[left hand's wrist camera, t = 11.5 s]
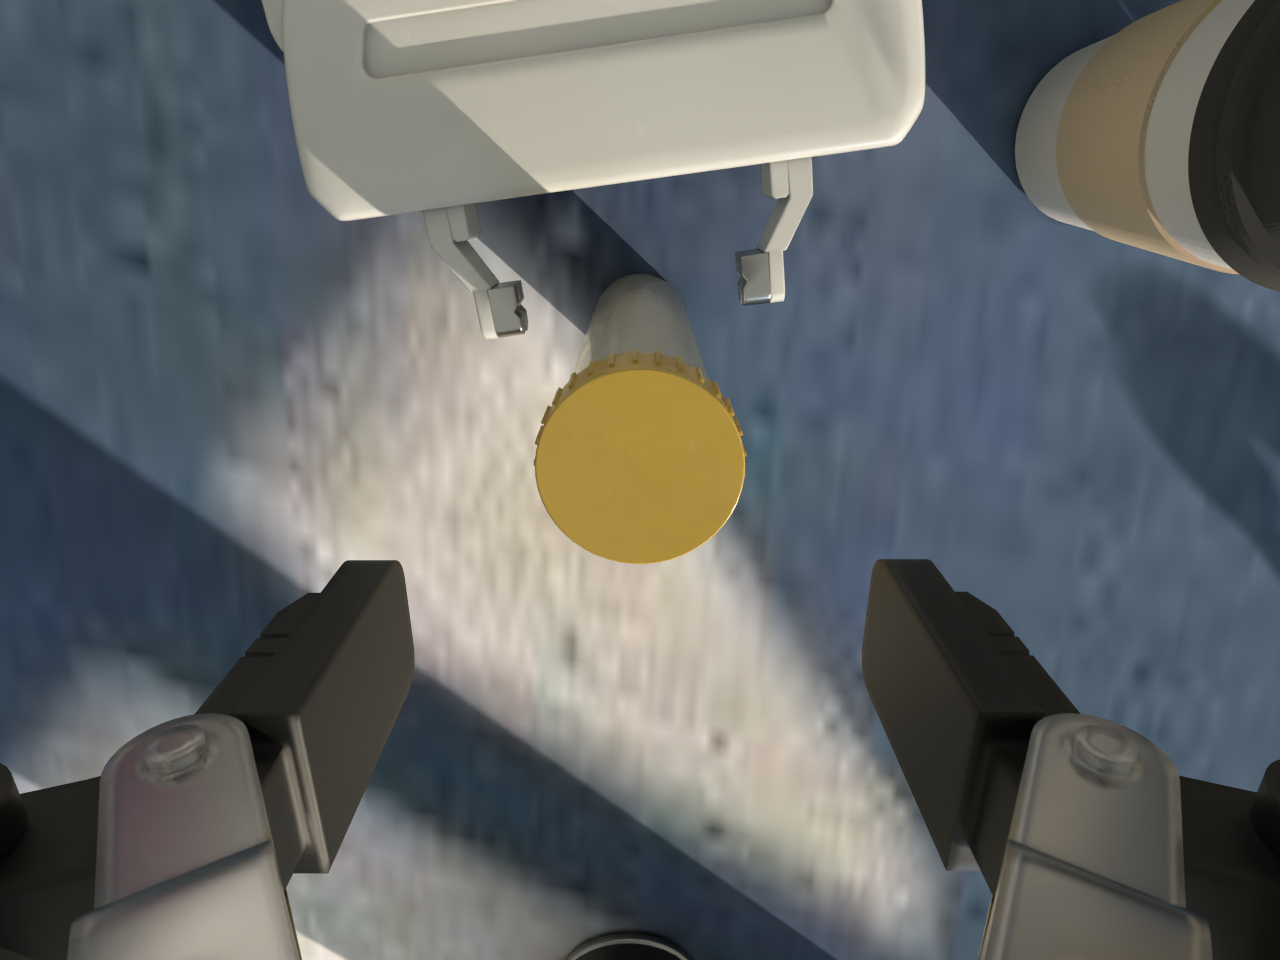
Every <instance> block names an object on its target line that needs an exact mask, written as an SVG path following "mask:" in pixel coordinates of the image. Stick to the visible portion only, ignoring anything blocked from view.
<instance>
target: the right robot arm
mask: <svg viewBox="0 0 1280 960" xmlns="http://www.w3.org/2000/svg"><path fill="white" fill-rule="evenodd" d="M262 4H263V7H264V11H265V15H266V19H267V22H268V26H269V29H270V31H271V33H272V36H273V38H274V40H275V42H276V44H277V46H278V47H279V49H280V50H281V52H282V53H283V54H284V62H285V71H286V79H287V88H288V95H289V102H290V109H291V115H292V121H293V127H294V132H295V138H296V143H297V148H298V153H299V157H300V162H301V167H302V171H303V175H304V179H305V183H306V186H307V189H308V191H309V193H310V194H311V196H312V197H313V198H314V199H315V200H316V201H317V202H318V203H319V204H320V205H321V206H322V207H324V208H325V209H326V210H327V211H328V212H329V213H330V214H331V215H333V216H334V217H335V218H336V219H338V220H340V221H349V220H358V219H365V218H373V217H380V216H387V215H395V214H402V213H409V212H417V211H423V213H424V218H425V222H426V227H427V231H428V236H429V240H430V245H431V247H432V248H433V249H434V250H435V252H436V253H437V254H438V255H439V256H440V258H441V259H442V260H443V261H444V262H445V263H446V265H447V266H448V267H449V268H450V269H451V270H452V272H453V273H454V274H455V275H456V276H457V277H458V279H459V280H460V281H461V282H462V283H463V285H464V286H465V287H466V288H467V289H468V290H469V292H472V291H473V293H474V298H475V303H476V307H477V312H478V317H479V322H480V327H481V331H482V334H483V336H484V338H485V339H494V338H498V337H499V338H500V337H507V336H514V335H521V334H525V331H527V329H528V317H527V312H526V309H525V308H524V307H523V306H522V305H521V303H522V301H523V299H524V295H523V290H522V285H521V280H520V281H511V282H502V283H498V282H499V281H498V279H497V278H496V277H495V275H494V274H493V273H492V272H491V270H490V269H489V268H488V266H487V265H486V264H485V263H484V261H483V260H482V259H481V257H480V256H479V255H478V254H477V252H476V251H475V250H474V248H473V247H472V246H471V245H470V243H469V242H468V241H467V240H469V239H472V238H474V237H477V236H479V234H480V233H481V231H480V225H479V220H478V214H477V209H476V204H475V203H479V202H487V201H494V200H501V199H508V198H516V197H523V196H530V195H537V194H545V193H552V192H559V191H567V190H574V189H581V188H588V187H596V186H603V185H610V184H617V183H625V182H632V181H639V180H646V179H654V178H661V177H668V176H675V175H683V174H690V173H697V172H704V171H712V170H719V169H726V168H733V167H741V166H748V165H755V164H760V168H761V180H762V193H763V195H764V196H765V197H769V198H775V199H777V198H778V200H777V202H776V204H775V207H774V209H773V211H772V213H771V216H770V218H769V220H768V223H767V225H766V227H765V229H764V232H763V234H762V236H761V238H760V241H759V243H758V245H757V249H751V250H744V251H738V252H735V257H736V270H737V271H738V272H739V274H740V275H741V277H740V279H739V280H738V282H737V283H738V293H739V299H740V302H741V303H742V304H743V305H744V306H745V305H754V304H763V303H770V302H778V301H784V296H785V283H784V265H783V250H786V249H787V247H788V245H789V243H790V241H791V239H792V237H793V235H794V233H795V231H796V229H797V227H798V225H799V223H800V220H801V218H802V216H803V214H804V212H805V210H806V208H807V206H808V204H809V202H810V200H811V198H812V196H813V181H812V157H816V156H823V155H830V154H837V153H845V152H852V151H859V150H866V149H874V148H881V147H887V146H893V145H896V144H898V143H900V142H901V141H902V140H903V138H904V137H905V136H906V134H907V133H908V131H909V130H910V129H911V127H912V126H913V124H914V122H915V121H916V119H917V118H918V116H919V114H920V113H921V110H922V108H923V104H924V98H925V41H924V23H923V9H922V0H262Z"/></svg>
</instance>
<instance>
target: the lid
mask: <svg viewBox="0 0 1280 960" xmlns="http://www.w3.org/2000/svg"><path fill="white" fill-rule="evenodd" d="M733 415H735V413H734V411H733V408H732V406H731V403H730V401H729V399H728V398H726V399H724V397H723V396H722V394H721V392H720V390H719V387H718V384H717V382H716V381H715V380H714V381H713V382H711V381H710V380H709V379H708V378H707V377H706V376H704V375H703V373H702V370H701V368H699V367H698V366H697V368H696V369H695V368H693V367H691V366H690V365H688V364H686V363H684V362H682V358H681V357H679V356H677V358H676V359H675V358H672V357H668V356H665V355H661V354H660V351H657V350H656V351H655V354H654V353H638V351H637V349H633V353H626V354H619V355H615V352H614V353H610V357H608V358H605V359H603V360H600V361H598V362H596V363H595V362H594V360H592V361H590V362H589V366H588V367H587V368H585V369H583V370H582V371H581V372H580V373H578V374H576V373H575V372H574V373H573V374H572V375H571V378H570V380H569V382H568V383H567V384H566V385H565V386H564V388H563V389H561V388H558V390H557V392H556V394H555V397H554V400H553V402H552V406H551V407H550V406H548V407H547V409H546V412H545V414H544V417H543V419H542V422H541V423H542V424H544V426H541V428H540V430H539V433H538V435H537V438H536V441H535V444H537V449H536V457H535V460H534V466H535V475H536V482H537V487H538V491H539V494H540V497H541V500H542V502H543V504H544V506H545V508H546V510H547V512H548V514H549V515H550V517H551V518H552V520H553V521H554V523H555V524H556V525H557V526H558V527H559V528H560V530H561V531H562V532H563V533H564V534H565V535H566V536H568V537H569V538H570V539H571V540H572V541H573V542H575V543H576V544H578V545H579V546H581V547H582V548H584V549H585V550H587V551H589V552H591V553H593V554H595V555H598V556H601V557H603V558H606V559H609V560H613V561H618V562H623V563H632V564H648V563H657V562H662V561H667V560H671V559H674V558H677V557H679V556H682V555H685V554H687V553H689V552H691V551H693V550H695V549H696V548H698V547H699V546H701V545H702V544H704V543H705V542H707V541H708V540H709V539H710V538H711V537H712V536H714V535H715V534H716V533H717V532H718V531H719V530H720V528H721V527H722V526H723V525H724V524H725V523H726V521H727V520H728V518H729V517H730V515H731V514H732V512H733V510H734V508H735V506H736V504H737V502H738V499H739V497H740V494H741V491H742V486H743V481H744V477H745V458H744V457H746V451H745V448H744V446H743V443H742V441H741V437H740V436H741V435H743V433H742V430H741V427H740V425H739V422H738V420H737V417H734V418H733Z"/></svg>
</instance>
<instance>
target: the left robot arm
mask: <svg viewBox="0 0 1280 960" xmlns="http://www.w3.org/2000/svg"><path fill="white" fill-rule="evenodd" d="M245 653H246V655H245V657H241V658H240V660H239V661H238V662H237V663H236V664H235V666H234V667H233V668H232V669H231V671H230V672H229V673H228V674H227V675H226V677H225V678H224V679H223V680H222V682H221V683H220V684H219V685H218V686H217V688H216V689H215V690H214V691H213V692H212V694H211V695H210V696H209V697H208V699H207V700H206V701H205V702H204V703H203V705H202V706H201V707H200V708H199V709H198V711H197V712H196V713H195V714H194V715H190V716H185V717H181V718H177V719H174V720H171V721H168V722H165V723H162V724H160V725H158V726H155V727H153V728H151V729H149V730H147V731H145V732H143V733H141V734H140V735H138V736H136V737H135V738H133V739H132V740H130V741H129V742H128V743H126V744H125V745H124V746H123V747H121V748H120V749H119V750H118V751H117V752H116V753H115V754H114V755H113V756H112V757H111V758H110V760H109V761H108V763H107V764H106V765H105V767H104V769H103V771H102V773H101V776H99V777H95V778H91V779H87V780H83V781H78V782H74V783H69V784H64V785H60V786H55V787H51V788H46V789H41V790H37V791H32V792H27V793H23V794H19V792H18V789H17V787H16V784H15V782H14V779H13V777H12V774H11V772H10V770H9V769H8V768H7V767H6V766H5V765H3V764H1V763H0V960H302V957H301V952H300V948H299V943H298V939H297V934H296V930H295V925H294V921H293V916H292V912H291V907H290V903H289V899H288V895H287V891H286V887H287V885H288V883H289V881H290V879H291V877H292V874H293V873H328V872H329V870H330V868H331V865H332V863H333V861H334V859H335V857H336V854H337V852H338V850H339V848H340V845H341V843H342V841H343V839H344V836H345V834H346V832H347V830H348V827H349V825H350V823H351V821H352V818H353V816H354V814H355V812H356V809H357V807H358V805H359V803H360V800H361V798H362V796H363V794H364V791H365V789H366V787H367V785H368V782H369V780H370V778H371V776H372V773H373V771H374V769H375V767H376V764H377V762H378V760H379V758H380V755H381V753H382V751H383V749H384V746H385V744H386V742H387V740H388V737H389V735H390V733H391V731H392V728H393V726H394V724H395V722H396V719H397V717H398V715H399V713H400V710H401V708H402V706H403V704H404V702H405V699H406V697H407V695H408V692H409V690H410V687H411V683H412V678H413V672H414V645H413V637H412V630H411V622H410V614H409V607H408V599H407V592H406V584H405V577H404V572H403V568H402V566H401V564H400V562H399V561H397V560H348V561H346V562H344V563H343V564H342V565H341V567H340V568H339V569H338V571H337V572H336V573H335V575H334V576H333V577H332V579H331V580H330V581H329V583H328V584H327V585H326V587H325V588H324V589H323V590H322V592H321V593H308V594H306V595H304V596H303V597H301V598H300V599H298V600H297V601H295V602H293V603H292V604H290V605H289V606H287V607H286V608H284V609H282V610H281V611H279V612H278V613H277V615H276V616H275V617H274V618H273V619H272V621H271V622H270V623H269V624H268V626H267V627H266V628H265V629H264V630H263V632H262V633H261V637H260V638H257V639H256V640H255V641H254V643H253V644H252V645H251V646H250V647H249V649H248V650H247V651H246V652H245ZM862 669H863V676H864V681H865V685H866V688H867V691H868V693H869V696H870V698H871V700H872V702H873V705H874V707H875V709H876V712H877V714H878V716H879V718H880V721H881V723H882V725H883V728H884V730H885V732H886V734H887V737H888V739H889V741H890V744H891V746H892V748H893V750H894V753H895V755H896V757H897V759H898V762H899V764H900V766H901V769H902V771H903V773H904V775H905V778H906V780H907V782H908V785H909V787H910V789H911V791H912V794H913V796H914V798H915V800H916V803H917V805H918V807H919V810H920V812H921V814H922V816H923V819H924V821H925V823H926V826H927V828H928V830H929V832H930V835H931V837H932V839H933V842H934V844H935V846H936V848H937V851H938V853H939V855H940V857H941V860H942V862H943V864H944V867H945V869H946V871H981V872H982V874H983V876H984V878H985V880H986V882H987V884H988V886H989V888H990V890H991V893H992V899H991V903H990V907H989V912H988V916H987V921H986V925H985V930H984V934H983V939H982V943H981V948H980V952H979V957H978V960H1280V760H1277V761H1275V762H1273V763H1271V764H1270V765H1269V767H1268V768H1267V769H1266V771H1265V774H1264V777H1263V779H1262V782H1261V784H1260V787H1259V789H1258V792H1257V793H1256V792H1252V791H1247V790H1242V789H1238V788H1233V787H1228V786H1224V785H1219V784H1215V783H1210V782H1205V781H1201V780H1196V779H1191V778H1187V777H1183V776H1179V773H1178V771H1177V769H1176V767H1175V765H1174V764H1173V763H1172V761H1171V760H1170V758H1169V757H1168V756H1167V755H1166V754H1165V753H1164V752H1163V751H1162V750H1161V749H1160V748H1159V747H1157V746H1156V745H1155V744H1154V743H1152V742H1151V741H1150V740H1148V739H1147V738H1145V737H1144V736H1142V735H1140V734H1139V733H1137V732H1135V731H1133V730H1131V729H1129V728H1127V727H1125V726H1122V725H1120V724H1118V723H1115V722H1112V721H1109V720H1106V719H1103V718H1099V717H1095V716H1090V715H1085V714H1080V713H1079V711H1078V710H1077V709H1076V708H1075V707H1074V705H1073V704H1072V703H1071V702H1070V700H1069V699H1068V698H1067V697H1066V695H1065V694H1064V693H1063V692H1062V691H1061V689H1060V688H1059V687H1058V686H1057V684H1056V683H1055V682H1054V681H1053V679H1052V678H1051V677H1050V676H1049V675H1048V673H1047V672H1046V671H1045V670H1044V668H1043V667H1042V666H1041V665H1040V664H1039V662H1038V661H1037V660H1036V659H1035V657H1034V656H1030V655H1029V650H1028V649H1027V648H1026V646H1025V645H1024V644H1023V643H1022V641H1021V640H1020V639H1019V638H1018V637H1015V636H1014V632H1013V630H1012V629H1011V628H1010V627H1009V625H1008V624H1007V623H1006V622H1005V620H1004V619H1003V618H1002V617H1001V616H1000V614H999V613H998V612H997V611H996V610H995V609H993V608H992V607H990V606H988V605H987V604H985V603H984V602H982V601H981V600H979V599H978V598H976V597H974V596H973V595H971V594H970V593H968V592H954V590H953V589H952V588H951V586H950V585H949V584H948V582H947V581H946V580H945V578H944V577H943V576H942V574H941V573H940V572H939V570H938V569H937V568H936V566H935V565H934V564H933V563H932V561H930V560H927V559H879V560H877V561H876V563H875V564H874V567H873V571H872V576H871V583H870V591H869V598H868V606H867V614H866V622H865V629H864V637H863V645H862ZM565 960H693V959H692V958H691V957H690V956H689V955H688V954H687V953H686V952H685V951H684V950H683V949H681V948H680V947H679V946H677V945H675V944H673V943H671V942H669V941H667V940H665V939H662V938H659V937H656V936H652V935H647V934H640V933H618V934H611V935H606V936H602V937H599V938H596V939H593V940H591V941H588V942H586V943H584V944H583V945H581V946H579V947H578V948H577V949H575V950H574V951H573V952H572V953H571V954H570V955H569V956H568V957H567V958H566V959H565Z"/></svg>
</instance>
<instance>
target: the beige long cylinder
mask: <svg viewBox="0 0 1280 960" xmlns="http://www.w3.org/2000/svg"><path fill="white" fill-rule="evenodd" d="M633 349H637V351H638V353H654V354H655V351H656V350H657V351H660V354H661V355H665V356H668V357H672V358H675V359H676V358H677V356H679V357H681V358H682V362H684V363H686V364H688V365H690V366H691V367H693V368H695V369H696V368H697V366H698V367H699V368H701V370H702V373H703V375H704V376H706V377H707V378H708V379H709V377H708V374H707V371H706V368H705V365H704V362H703V359H702V356H701V353H700V350H699V347H698V344H697V341H696V338H695V335H694V332H693V329H692V326H691V324H690V321H689V318H688V315H687V312H686V309H685V306H684V303H683V301H682V299H681V297H680V295H679V294H678V293H677V291H676V290H675V289H674V288H673V287H672V286H671V285H670V284H668V283H667V282H666V281H664V280H662V279H660V278H658V277H656V276H652V275H648V274H632V275H628V276H624V277H622V278H620V279H618V280H616V281H614V282H613V283H612V284H610V285H609V286H608V287H607V288H606V289H605V290H604V291H603V293H602V294H601V295H600V297H599V299H598V301H597V303H596V306H595V308H594V311H593V314H592V317H591V320H590V323H589V326H588V329H587V332H586V335H585V338H584V341H583V344H582V347H581V350H580V353H579V356H578V359H577V362H576V365H575V368H574V371H573V373H574V372H575V373H576V374H578V373H580V372H581V371H582V370H583V369H585V368H587V367H588V366H589V362H590V361H592V360H594V362H595V363H596V362H598V361H600V360H603V359H605V358H608V357H610V353H614V352H615V355H619V354H626V353H633Z"/></svg>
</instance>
